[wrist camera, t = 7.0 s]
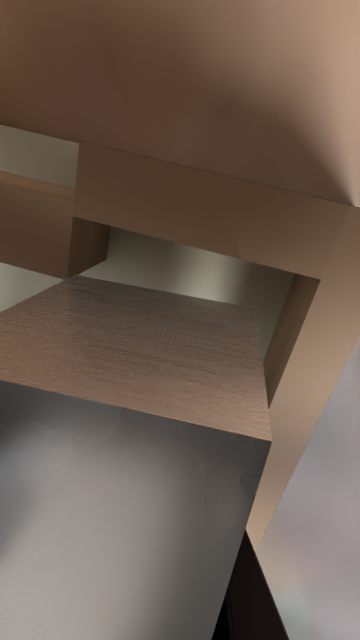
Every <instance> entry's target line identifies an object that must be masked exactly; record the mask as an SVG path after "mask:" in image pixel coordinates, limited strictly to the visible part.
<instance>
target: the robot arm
mask: <svg viewBox="0 0 360 640" xmlns="http://www.w3.org/2000/svg"><path fill="white" fill-rule="evenodd" d="M211 640H289V638H288V635H287V632H286V630H285V627H284V625H283V622H282V620H281V617H280V615H279V612H278V610H277V607H276V604H275V602H274V599H273V597H272V594H271V592H270V589H269V587H268V584H267V582H266V579H265V576H264V574H263V571H262V569H261V566H260V564H259V561H258V559H257V556H256V554H255V551H254V549H253V546H252V543H251V541H250V538H249V536H248V533H247V531H246V528H245V532H244V535H243V538H242V541H241V545H240V548H239V551H238V554H237V558H236V561H235V564H234V567H233V571H232V574H231V577H230V580H229V584H228V587H227V590H226V593H225V597H224V600H223V603H222V606H221V610H220V613H219V616H218V619H217V623H216V626H215V629H214V632H213V636H212V639H211Z"/></svg>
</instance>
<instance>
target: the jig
mask: <svg viewBox="0 0 360 640" xmlns="http://www.w3.org/2000/svg"><path fill="white" fill-rule="evenodd" d="M73 275H78V276H84V277H89V278H95V279H100V280H105V281H111V282H116V283H122V284H127V285H133V286H138V287H143V288H149V289H154V290H160V291H165V292H170V293H176V294H181V295H187V296H192V297H198V298H203V299H208V300H214V301H219V302H225V303H230V304H236V305H241V306H246V307H252V308H256V310H257V318H258V326H259V335H260V343H261V351H262V360H263V368H264V376H265V385H266V393H267V401H268V410H269V418H270V426H271V435H272V444H271V447H270V450H269V454H268V457H267V460H266V463H265V467H264V470H263V473H262V476H261V480H260V483H259V486H258V489H257V493H256V496H255V499H254V502H253V506H252V509H251V512H250V515H249V519H248V522H247V525H246V531H247V533H248V536H249V538H250V541H251V543H252V546H253V549H254V551H256V549H257V547H258V545H259V542H260V540H261V538H262V536H263V534H264V532H265V530H266V528H267V526H268V524H269V522H270V520H271V518H272V515H273V513H274V511H275V509H276V507H277V505H278V503H279V501H280V499H281V497H282V495H283V493H284V491H285V489H286V486H287V484H288V482H289V480H290V478H291V476H292V474H293V472H294V470H295V468H296V466H297V464H298V462H299V460H300V457H301V455H302V453H303V451H304V449H305V447H306V445H307V443H308V441H309V439H310V437H311V435H312V433H313V431H314V428H315V426H316V424H317V422H318V420H319V418H320V416H321V414H322V412H323V410H324V408H325V406H326V404H327V401H328V399H329V397H330V395H331V393H332V391H333V389H334V387H335V385H336V383H337V381H338V379H339V377H340V375H341V372H342V370H343V368H344V366H345V364H346V362H347V360H348V358H349V356H350V354H351V352H352V350H353V348H354V346H355V343H356V341H357V339H358V337H359V335H360V208H359V207H355V206H350V205H346V204H342V203H338V202H334V201H329V200H325V199H321V198H317V197H313V196H308V195H304V194H300V193H296V192H292V191H287V190H283V189H279V188H275V187H271V186H266V185H262V184H258V183H254V182H250V181H245V180H241V179H237V178H233V177H228V176H224V175H220V174H216V173H212V172H207V171H203V170H199V169H195V168H191V167H186V166H182V165H178V164H174V163H170V162H165V161H161V160H157V159H153V158H149V157H144V156H140V155H136V154H132V153H128V152H123V151H119V150H115V149H111V148H106V147H102V146H98V145H94V144H90V143H85V142H81V141H79V143H76V142H72V141H67V140H63V139H59V138H55V137H51V136H46V135H42V134H38V133H34V132H30V131H25V130H21V129H17V128H13V127H9V126H4V125H0V312H2V311H4V310H6V309H8V308H10V307H12V306H14V305H16V304H18V303H20V302H22V301H24V300H26V299H28V298H30V297H32V296H34V295H36V294H38V293H40V292H42V291H43V290H45V289H47V288H49V287H51V286H53V285H55V284H57V283H59V282H61V281H63V280H65V279H67V278H69V277H71V276H73Z"/></svg>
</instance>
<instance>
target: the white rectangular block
mask: <svg viewBox="0 0 360 640" xmlns="http://www.w3.org/2000/svg"><path fill="white" fill-rule="evenodd" d="M271 444H272V435H271V426H270V418H269V410H268V401H267V393H266V385H265V376H264V368H263V360H262V351H261V343H260V335H259V326H258V318H257V310H256V308H252V307H246V306H241V305H236V304H230V303H225V302H219V301H214V300H208V299H203V298H198V297H192V296H187V295H181V294H176V293H170V292H165V291H160V290H154V289H149V288H143V287H138V286H133V285H127V284H122V283H116V282H111V281H105V280H100V279H95V278H89V277H84V276H78V275H73V276H71V277H69V278H67V279H65V280H63V281H61V282H59V283H57V284H55V285H53V286H51V287H49V288H47V289H45V290H43V291H42V292H40V293H38V294H36V295H34V296H32V297H30V298H28V299H26V300H24V301H22V302H20V303H18V304H16V305H14V306H12V307H10V308H8V309H6V310H4V311H2V312H0V640H211V639H212V636H213V632H214V629H215V626H216V623H217V619H218V616H219V613H220V610H221V606H222V603H223V600H224V597H225V593H226V590H227V587H228V584H229V580H230V577H231V574H232V571H233V567H234V564H235V561H236V558H237V554H238V551H239V548H240V545H241V541H242V538H243V535H244V532H245V528H246V525H247V522H248V519H249V515H250V512H251V509H252V506H253V502H254V499H255V496H256V493H257V489H258V486H259V483H260V480H261V476H262V473H263V470H264V467H265V463H266V460H267V457H268V454H269V450H270V447H271Z"/></svg>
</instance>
